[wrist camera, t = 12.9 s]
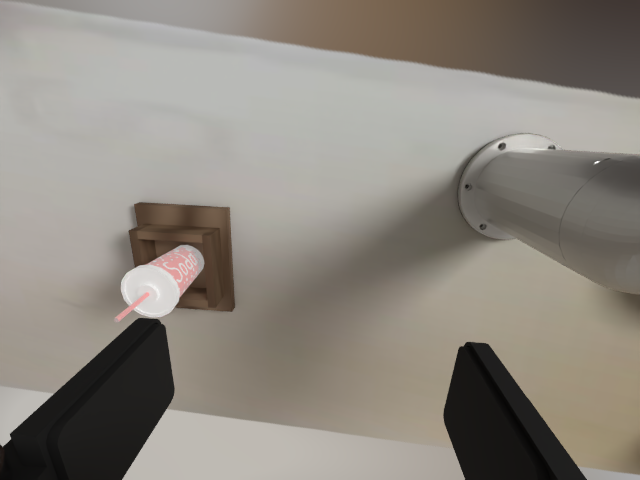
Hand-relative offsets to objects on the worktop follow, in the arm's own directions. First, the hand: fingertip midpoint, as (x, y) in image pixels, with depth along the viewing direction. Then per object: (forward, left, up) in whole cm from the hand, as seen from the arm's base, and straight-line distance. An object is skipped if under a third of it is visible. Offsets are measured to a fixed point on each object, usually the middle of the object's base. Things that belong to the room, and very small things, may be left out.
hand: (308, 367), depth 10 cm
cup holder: (+19, +10, -30) cm, 37 cm away
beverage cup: (+19, +10, -29) cm, 36 cm away
